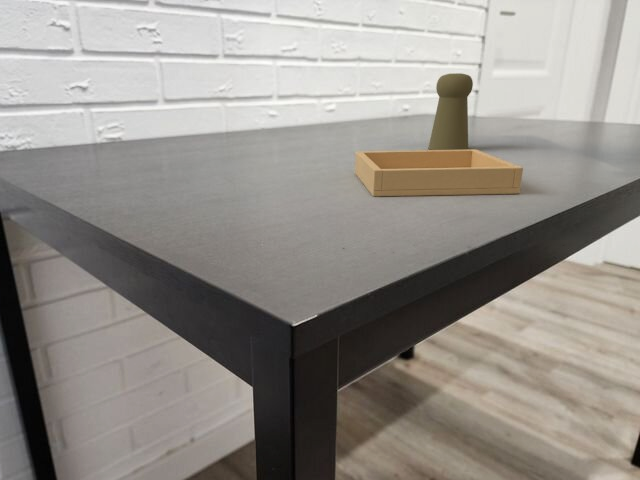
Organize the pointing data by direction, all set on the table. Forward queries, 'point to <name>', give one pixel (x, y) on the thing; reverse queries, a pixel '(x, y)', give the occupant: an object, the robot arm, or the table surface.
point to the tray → (436, 173)
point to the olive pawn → (451, 113)
